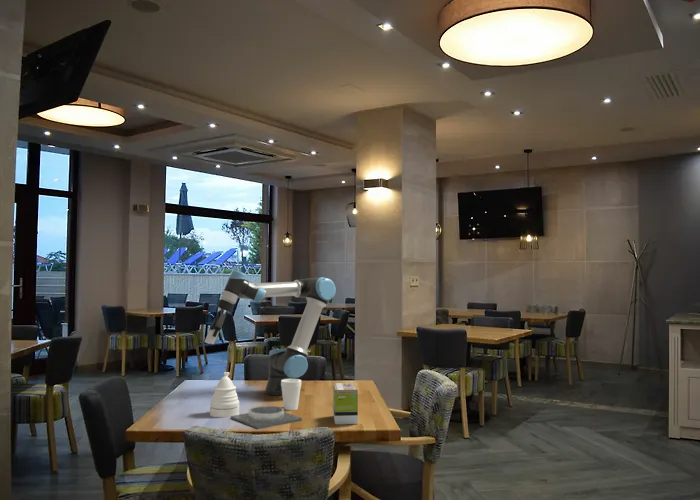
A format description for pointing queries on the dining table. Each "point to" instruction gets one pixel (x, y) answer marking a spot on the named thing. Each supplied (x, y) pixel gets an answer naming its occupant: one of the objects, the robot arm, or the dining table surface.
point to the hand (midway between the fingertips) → (208, 343)
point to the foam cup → (290, 393)
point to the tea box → (345, 403)
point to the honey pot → (224, 399)
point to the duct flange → (265, 417)
